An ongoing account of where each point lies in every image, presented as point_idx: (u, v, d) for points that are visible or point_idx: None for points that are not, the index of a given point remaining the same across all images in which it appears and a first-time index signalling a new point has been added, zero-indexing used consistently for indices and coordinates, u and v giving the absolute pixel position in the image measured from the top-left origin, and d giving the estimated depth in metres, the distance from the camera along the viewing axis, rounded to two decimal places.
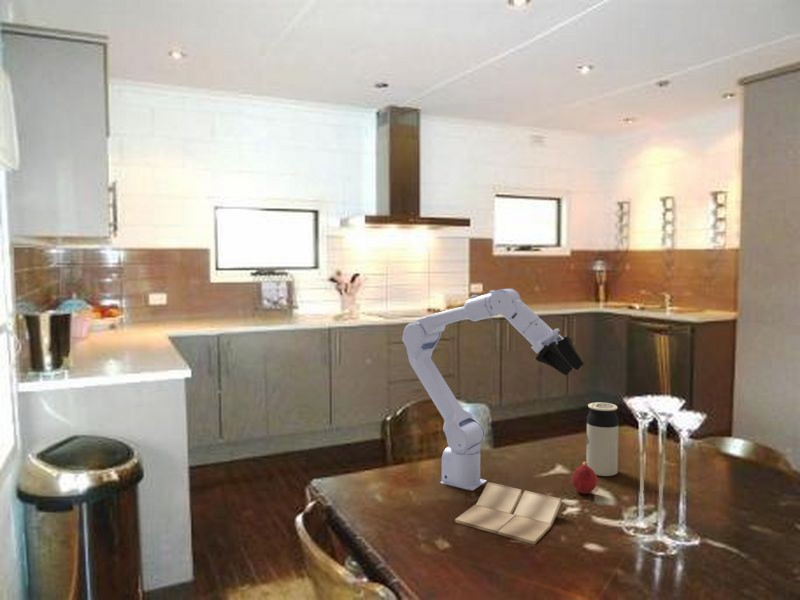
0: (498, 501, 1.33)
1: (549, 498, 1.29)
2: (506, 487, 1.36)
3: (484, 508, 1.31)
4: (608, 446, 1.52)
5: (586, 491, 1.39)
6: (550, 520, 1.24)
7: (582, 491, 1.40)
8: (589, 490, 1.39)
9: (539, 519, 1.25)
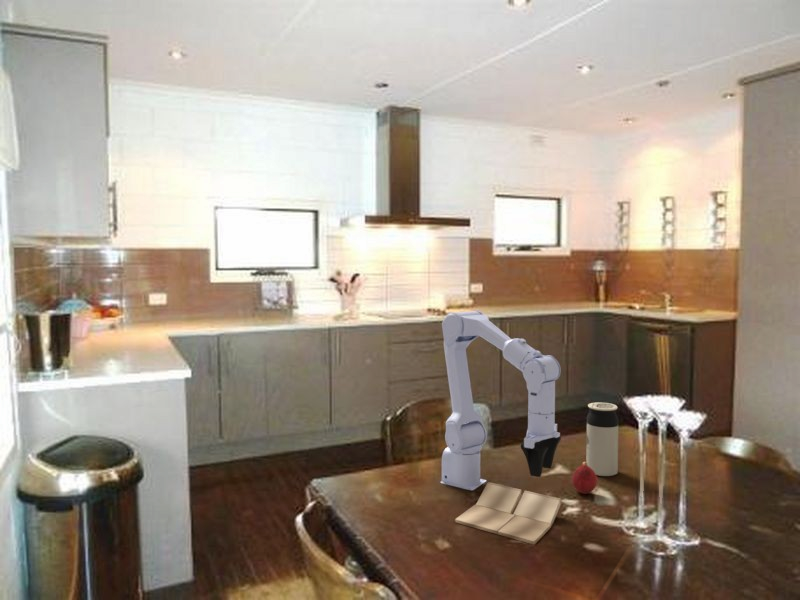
0: (498, 501, 1.33)
1: (549, 498, 1.29)
2: (506, 487, 1.36)
3: (484, 508, 1.31)
4: (607, 446, 1.52)
5: (586, 491, 1.39)
6: (550, 520, 1.24)
7: (582, 491, 1.40)
8: (589, 490, 1.39)
9: (539, 519, 1.25)
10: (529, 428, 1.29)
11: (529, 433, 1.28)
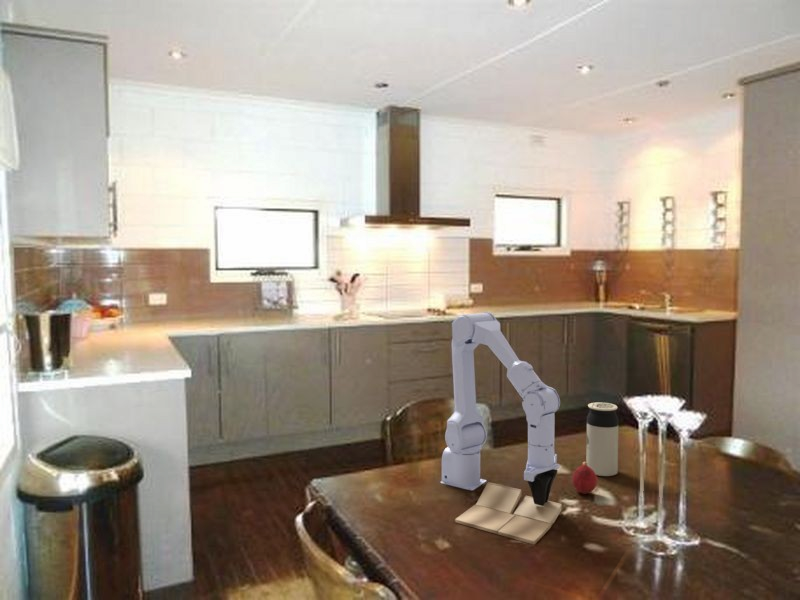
0: (498, 501, 1.33)
1: (550, 503, 1.30)
2: (506, 487, 1.36)
3: (484, 508, 1.31)
4: (607, 446, 1.52)
5: (586, 491, 1.39)
6: (550, 520, 1.25)
7: (582, 491, 1.40)
8: (589, 490, 1.39)
9: (539, 519, 1.25)
10: (529, 460, 1.29)
11: (529, 465, 1.29)
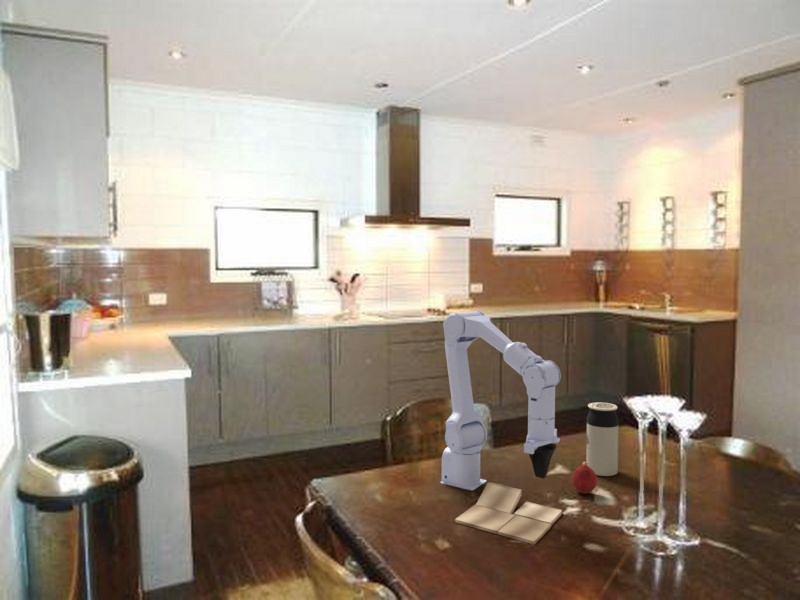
0: (498, 501, 1.33)
1: (551, 508, 1.30)
2: (506, 487, 1.36)
3: (484, 508, 1.31)
4: (607, 446, 1.52)
5: (586, 491, 1.39)
6: (551, 521, 1.25)
7: (582, 491, 1.40)
8: (589, 490, 1.39)
9: (540, 519, 1.26)
10: (529, 433, 1.29)
11: (529, 438, 1.28)
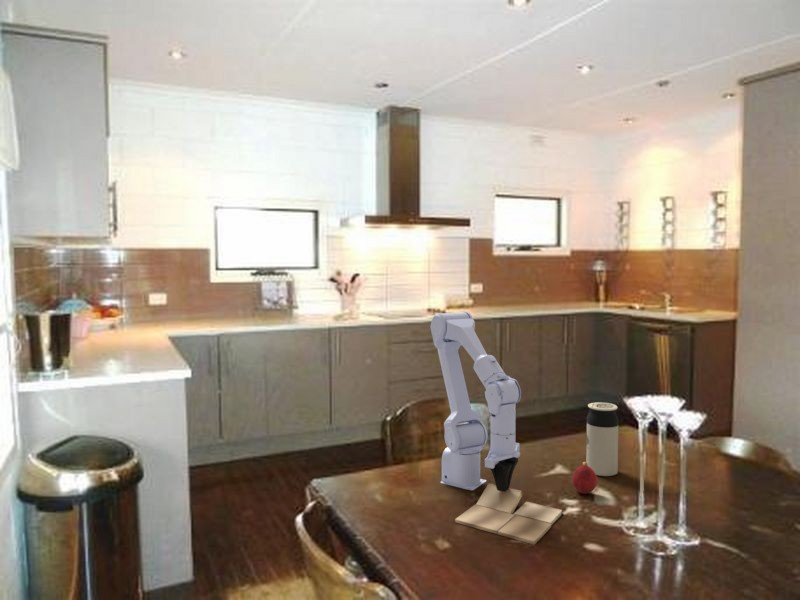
0: (498, 502, 1.33)
1: (551, 508, 1.30)
2: None
3: (484, 508, 1.31)
4: (608, 446, 1.52)
5: (586, 491, 1.39)
6: (551, 521, 1.25)
7: (582, 491, 1.40)
8: (589, 490, 1.39)
9: (540, 519, 1.26)
10: (491, 448, 1.34)
11: (491, 453, 1.34)
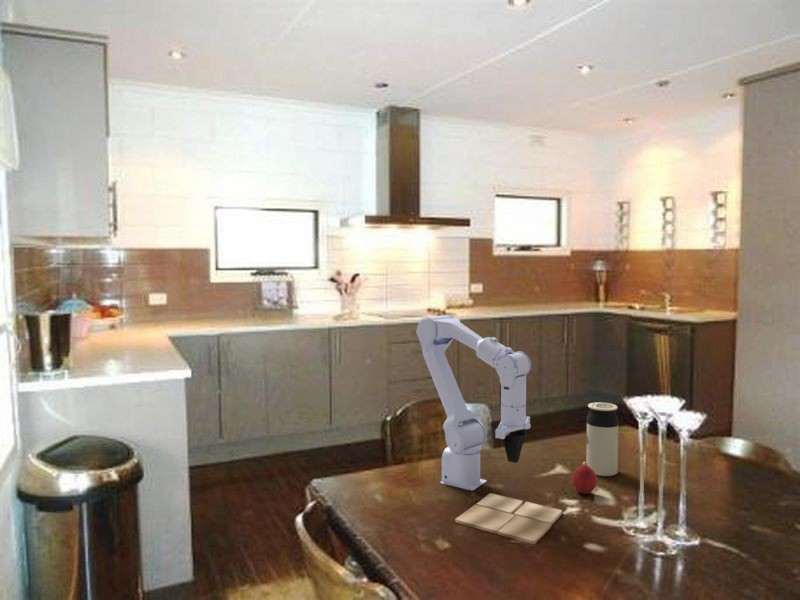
0: (499, 504, 1.33)
1: (551, 508, 1.30)
2: (508, 498, 1.37)
3: (484, 508, 1.31)
4: (608, 446, 1.52)
5: (586, 491, 1.39)
6: (551, 521, 1.25)
7: (582, 491, 1.40)
8: (589, 490, 1.39)
9: (540, 519, 1.26)
10: (502, 420, 1.36)
11: (501, 425, 1.36)
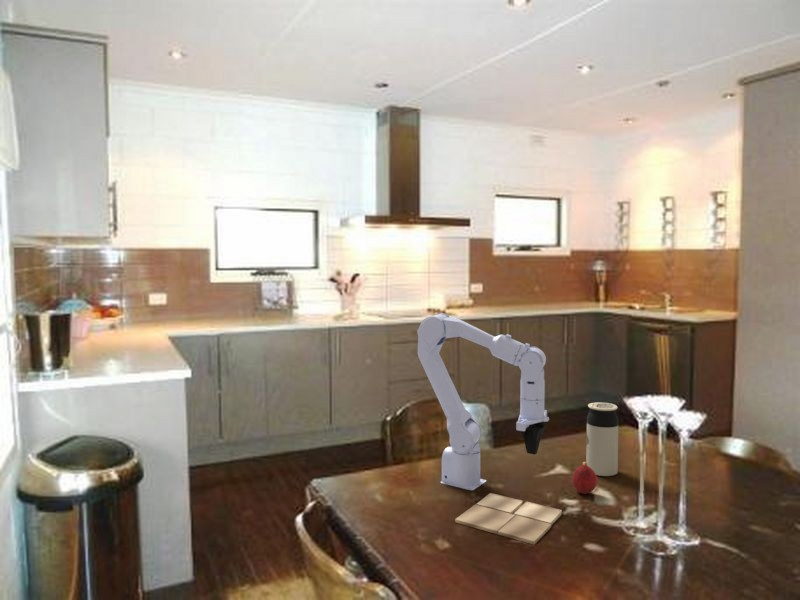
0: (499, 504, 1.33)
1: (551, 508, 1.30)
2: (508, 498, 1.37)
3: (484, 508, 1.31)
4: (607, 446, 1.52)
5: (586, 491, 1.39)
6: (551, 521, 1.25)
7: (582, 491, 1.40)
8: (589, 490, 1.39)
9: (540, 519, 1.26)
10: (521, 413, 1.41)
11: (521, 418, 1.41)
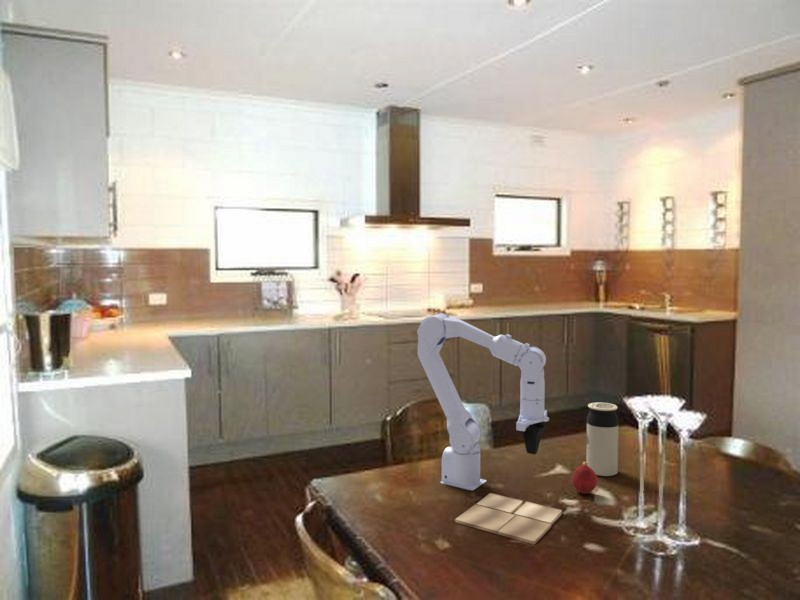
0: (499, 504, 1.33)
1: (551, 508, 1.30)
2: (508, 498, 1.37)
3: (484, 508, 1.31)
4: (607, 446, 1.52)
5: (586, 491, 1.39)
6: (551, 521, 1.25)
7: (582, 491, 1.40)
8: (589, 490, 1.39)
9: (540, 519, 1.26)
10: (521, 413, 1.41)
11: (521, 418, 1.41)
